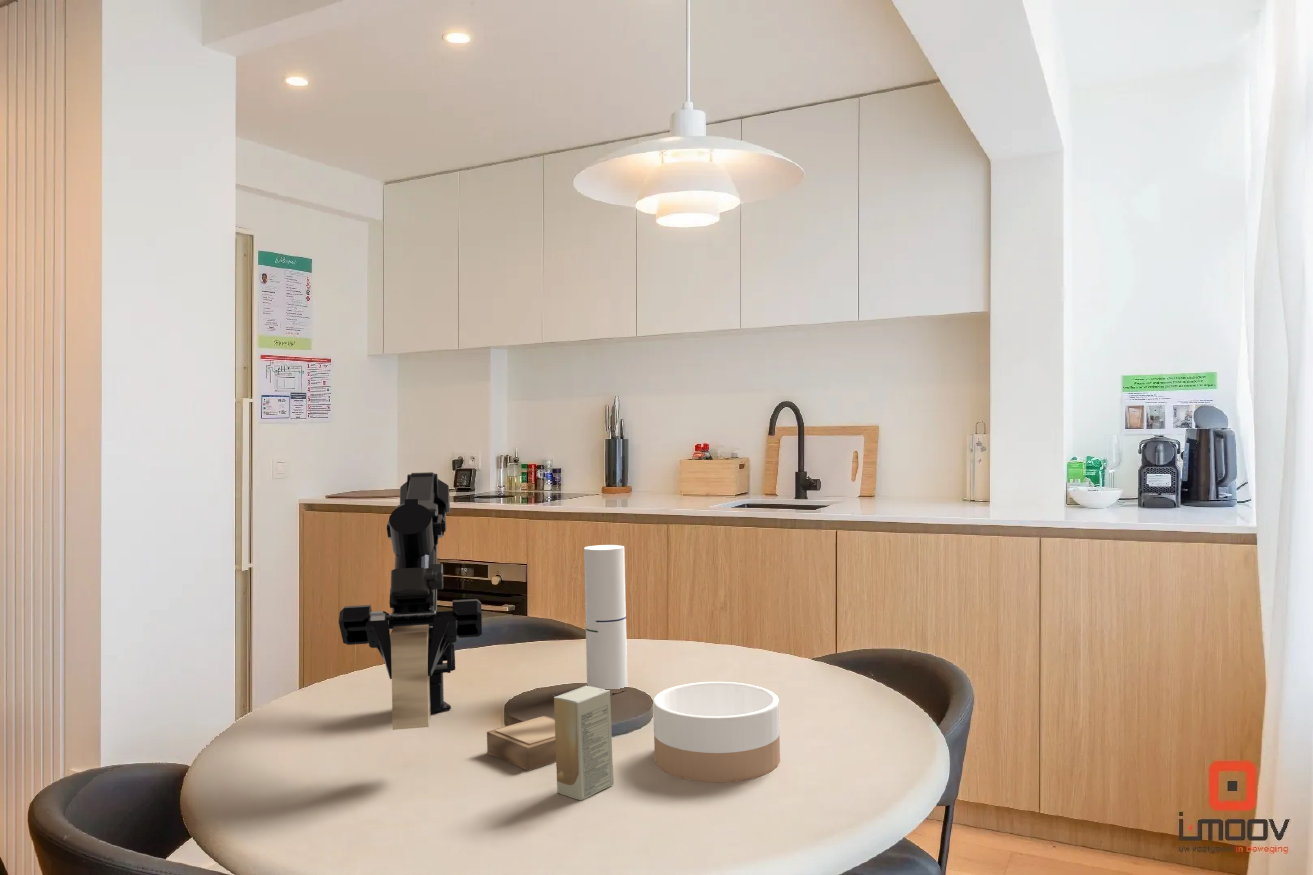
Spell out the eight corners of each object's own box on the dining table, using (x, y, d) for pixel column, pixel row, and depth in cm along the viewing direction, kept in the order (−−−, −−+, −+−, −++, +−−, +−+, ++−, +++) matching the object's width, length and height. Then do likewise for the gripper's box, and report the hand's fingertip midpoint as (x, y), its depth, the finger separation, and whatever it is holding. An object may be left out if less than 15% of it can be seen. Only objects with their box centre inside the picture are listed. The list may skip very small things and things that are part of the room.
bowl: (637, 748, 127) (635, 689, 127) (745, 731, 133) (744, 675, 133) (683, 791, 111) (681, 724, 111) (804, 770, 117) (802, 707, 117)
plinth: (487, 752, 126) (486, 730, 126) (544, 735, 133) (543, 714, 133) (529, 770, 119) (528, 746, 119) (587, 751, 126) (586, 728, 126)
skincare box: (589, 777, 116) (587, 683, 116) (614, 785, 113) (612, 689, 113) (554, 793, 111) (551, 695, 111) (579, 802, 108) (577, 701, 108)
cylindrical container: (622, 695, 153) (618, 549, 154) (582, 693, 155) (578, 549, 155) (631, 683, 160) (628, 544, 161) (593, 682, 162) (590, 544, 162)
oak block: (395, 719, 120) (393, 626, 120) (430, 716, 121) (428, 624, 121) (392, 729, 116) (390, 633, 116) (428, 726, 117) (426, 631, 117)
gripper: (339, 547, 121) (327, 647, 110) (480, 541, 124) (482, 637, 113) (348, 595, 128) (338, 693, 118) (481, 588, 132) (483, 682, 121)
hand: (410, 676), depth 117 cm, fingers closed on oak block, 4 cm apart
